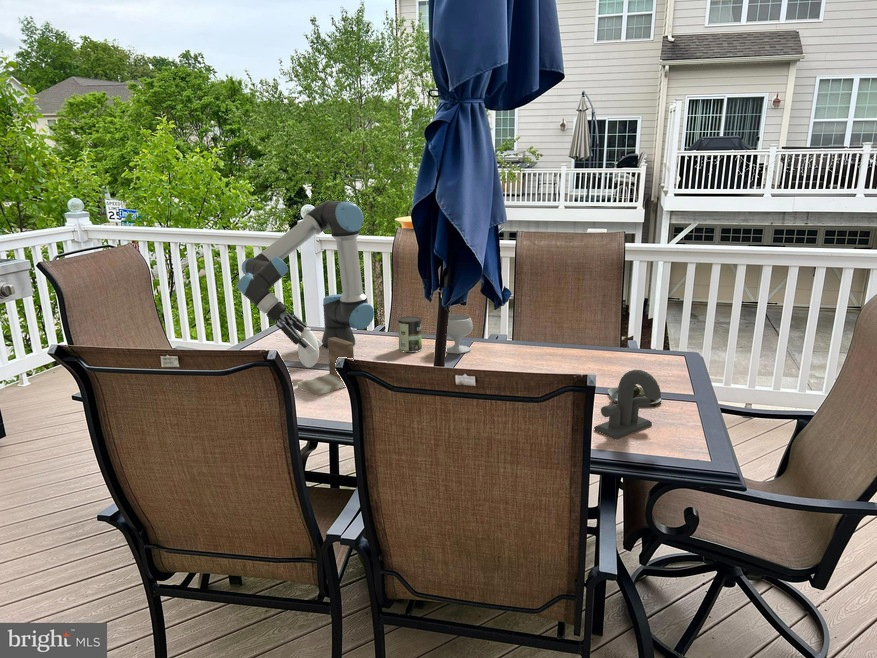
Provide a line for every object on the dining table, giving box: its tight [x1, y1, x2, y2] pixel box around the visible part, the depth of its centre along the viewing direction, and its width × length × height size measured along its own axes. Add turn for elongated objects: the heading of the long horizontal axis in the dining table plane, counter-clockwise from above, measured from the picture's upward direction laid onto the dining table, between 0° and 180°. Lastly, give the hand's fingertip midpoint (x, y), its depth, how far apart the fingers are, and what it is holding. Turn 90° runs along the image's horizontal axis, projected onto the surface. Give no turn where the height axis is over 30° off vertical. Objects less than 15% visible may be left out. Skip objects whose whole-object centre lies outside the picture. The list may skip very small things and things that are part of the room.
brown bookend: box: [297, 337, 355, 396], centre depth 226 cm, size 17×12×16 cm
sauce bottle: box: [297, 321, 320, 368], centre depth 235 cm, size 8×8×18 cm
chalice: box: [446, 313, 474, 355], centre depth 269 cm, size 14×14×15 cm
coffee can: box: [397, 315, 423, 353], centre depth 271 cm, size 10×10×14 cm
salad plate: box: [607, 384, 662, 408], centre depth 215 cm, size 19×18×5 cm
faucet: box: [593, 369, 662, 440], centre depth 185 cm, size 18×16×20 cm
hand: (317, 349), depth 235 cm, fingers closed on sauce bottle, 7 cm apart
